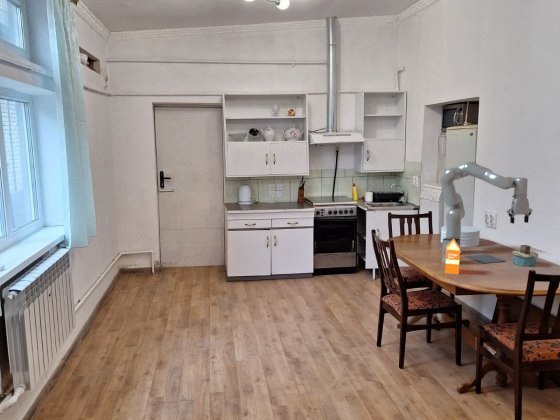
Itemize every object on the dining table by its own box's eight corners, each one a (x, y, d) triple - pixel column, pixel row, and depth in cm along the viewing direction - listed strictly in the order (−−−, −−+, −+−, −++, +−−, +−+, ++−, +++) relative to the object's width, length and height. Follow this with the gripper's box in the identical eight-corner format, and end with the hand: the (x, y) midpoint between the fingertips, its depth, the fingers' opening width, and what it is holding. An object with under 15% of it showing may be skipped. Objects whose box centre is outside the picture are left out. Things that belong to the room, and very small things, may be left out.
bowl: (523, 267, 284) (524, 258, 283) (508, 262, 297) (508, 253, 296) (540, 265, 288) (541, 256, 287) (524, 260, 300) (525, 251, 299)
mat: (482, 263, 293) (482, 263, 293) (464, 256, 310) (464, 256, 310) (505, 261, 298) (505, 260, 298) (486, 254, 315) (486, 254, 315)
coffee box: (451, 260, 302) (452, 236, 299) (459, 262, 296) (460, 238, 294) (441, 262, 297) (442, 238, 295) (449, 264, 292) (450, 240, 289)
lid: (524, 258, 282) (525, 249, 281) (506, 252, 296) (507, 243, 295) (543, 256, 286) (544, 247, 285) (525, 251, 300) (525, 242, 299)
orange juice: (445, 272, 274) (446, 240, 271) (445, 269, 282) (446, 237, 279) (458, 274, 271) (460, 241, 268) (458, 270, 279) (460, 238, 276)
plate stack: (432, 240, 360) (433, 226, 359) (459, 237, 371) (460, 224, 369) (459, 248, 335) (460, 233, 333) (487, 244, 346) (488, 230, 344)
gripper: (511, 197, 288) (510, 224, 290) (536, 196, 290) (535, 223, 292) (504, 196, 295) (503, 222, 297) (528, 195, 297) (527, 221, 299)
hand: (519, 222), depth 295 cm, fingers open, 9 cm apart
